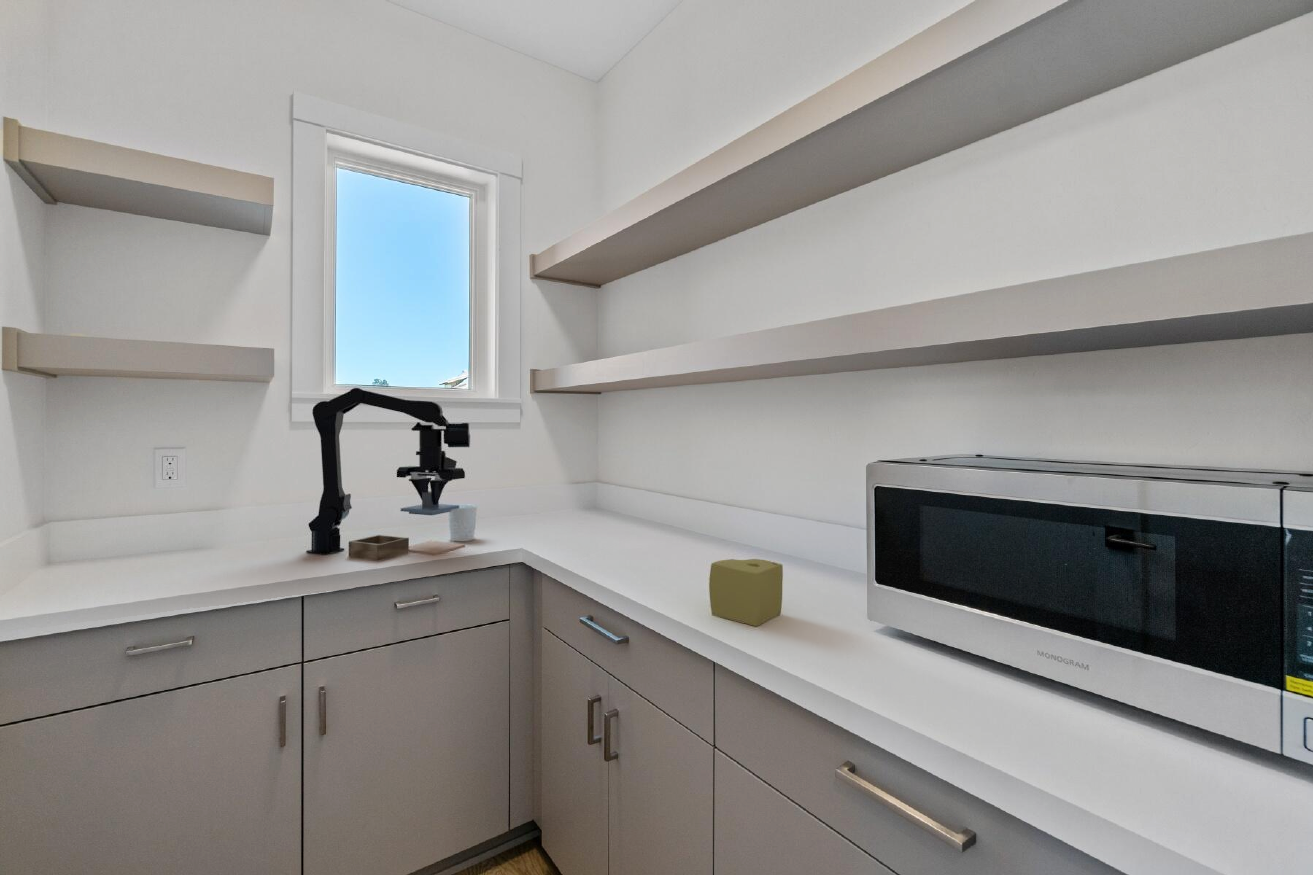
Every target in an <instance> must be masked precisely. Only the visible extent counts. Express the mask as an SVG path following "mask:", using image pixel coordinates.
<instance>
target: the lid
mask: <svg viewBox="0 0 1313 875" xmlns="http://www.w3.org/2000/svg"><path fill="white" fill-rule="evenodd" d="M459 505H460V504H443V503H440V502H439V501H438V504H437V505H434V504H433V500H432V493H431V490H430V491H429V490H428V492H423V493H422V499H421V504H418V505H412V506H405V507H401V508H400V512H406V513H407V512H408V514H409V515H420V516H437V515H441V514H444V513H445V514H446V513H449V512H451V510H453V509H458V508H459Z"/></svg>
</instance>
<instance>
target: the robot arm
mask: <svg viewBox="0 0 1313 875" xmlns="http://www.w3.org/2000/svg"><path fill="white" fill-rule="evenodd" d="M361 404H363V405H368V406H370V407H377V408H381V409H385V410H389V411H393V412H398V413H403V414H405V415H407V416H410V417H412V418H415V419H417V420H420V421H422V422H424V423H429V424H422V423H421V422H420V421H418V422H416V424H415V425H414V426H413V427H412V428H410V429H411V431H416V432H418V431H419V432H418V434H419V435H418V436H419V437H418V439H419V440H418V441H419V449H418V450H417V451H415V455H416V456H418V458H419V460H418V461H419V463H418V465H419V466H417V465H416V466H415V465H407V466H399V467H398V468H397V470H396V478H403V479H405V478H407V477H410V478H408V482H411V484H412V485H413V488H414V489H415V490H416V491H417V493H418V495H419V498H420V499H421V500H422V493H423V492H429V487H430V491H431V493H432V500H433V504H434V505H437V504H438V501H439V500H440V499H441V496H442V493H443V491H444V488H445V486H446V485H447V484H448V483H449V482H452V481H454V480H461V479H465V478H466V473H465V472H466V471H465V470H464V468H463V467H457V462H458V461H456V460H455V459H452V458H450V457H447V456H446V454H447V453H446V451H445V450H443V449H442V447H443V444H445V445H447V447H448V448H471V447H470V446H471V434H470V423H468V422H462V423H450V422H449V420H448V419H446V418H445V416H444V415H443V408H442V406H441V405H440V404H439V403H437V402H434V401H428V400H412V399H411V400H410V399H403V398H399V397H395V396H390V395H386V394H381V393H377V392H374V391H369V390H366V389H364V388H359V387H353V388H352V389H350V390H349V391H347V392H345V393H343V394H341V395H338V396H336V397H333V398H332V399H330V400H328V401H326V400H324V401H323V400H322V401H319V402H317V403H316V404H315V405H314V406H313V408H312V417H313V420H314V425H315V428H316V430H317V432H318V434H319V438H320V450H321V452H320V453H321V467H322V468H321V470H322V485H323V488H322V489H323V490H322V494H321V498H320V501H319V507H318V514H317V516H316V517H314V518H313V519H312V520H311V521H309V522H308V527H309V531H310V532H311V549H308V550H306V551H305V553H306V554H313V555H314V554H315V555H322V556H323V555H325V556H326V555H329V554H333V553H334V554H335V553H337V552H342V551H345V548H344V547H341V533H340V532H341V530H340V528H339V526H341V523H342V521H343V520H345V519H346V518H347V517H348V516H349V514H350V510H351V509H353V507H352V504H351V497H352V495H351V493H347V494H346V493H345V491H344V489H343V488H344V487H343V482H342V479H343V478H342V465H341V464H342V462H341V445H340V433H341V430H342V427H343V423H344V415H345V414H347V413H348V412H351V411H352V410H354V409H355V408H356V407H358V406H360V405H361ZM431 423H433V424H431ZM434 424H435V426H437V427H445V428H435V427H434ZM442 432H443V434H442ZM442 435H443V440H442ZM442 442H443V444H442ZM432 477H434V479H432Z"/></svg>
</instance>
